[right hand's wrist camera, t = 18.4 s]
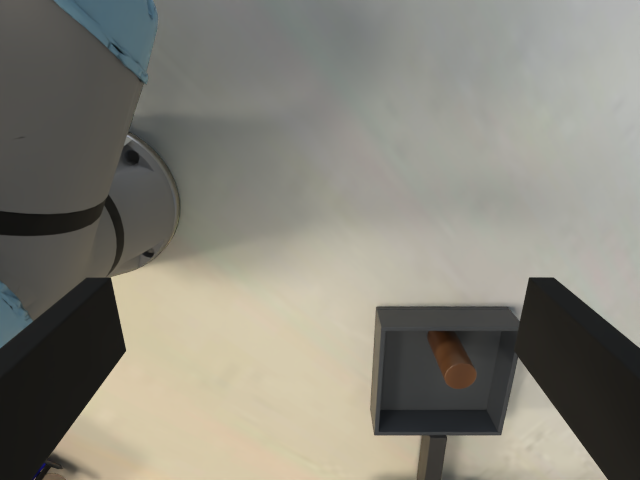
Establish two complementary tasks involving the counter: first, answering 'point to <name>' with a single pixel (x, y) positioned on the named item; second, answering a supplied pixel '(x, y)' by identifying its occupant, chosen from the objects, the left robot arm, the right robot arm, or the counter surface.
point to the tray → (440, 377)
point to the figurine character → (44, 478)
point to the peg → (452, 359)
